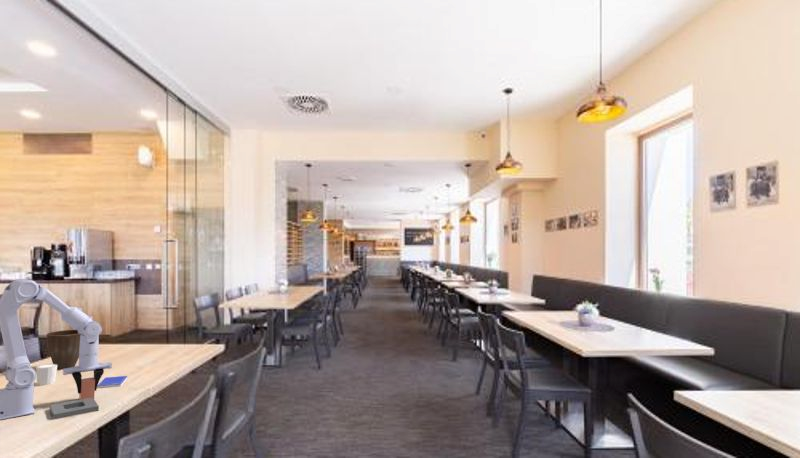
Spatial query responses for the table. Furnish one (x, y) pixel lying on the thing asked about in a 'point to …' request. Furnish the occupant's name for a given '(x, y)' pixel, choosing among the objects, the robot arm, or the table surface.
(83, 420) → the table surface
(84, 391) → the reddish brown block
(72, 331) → the plant pot
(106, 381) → the hard drive
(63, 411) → the socket plate
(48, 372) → the white tapered cup
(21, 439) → the table surface
